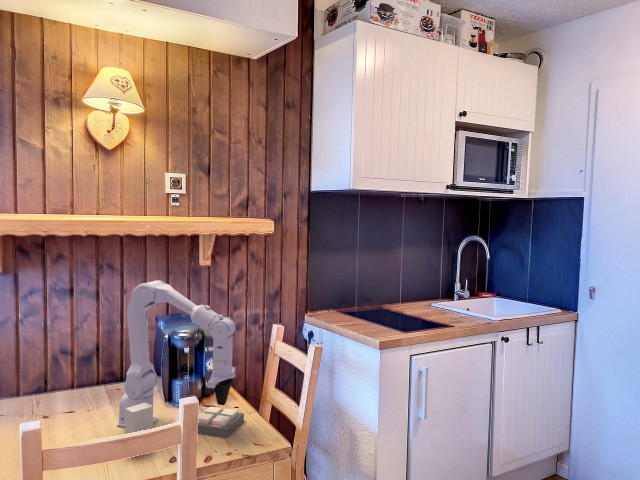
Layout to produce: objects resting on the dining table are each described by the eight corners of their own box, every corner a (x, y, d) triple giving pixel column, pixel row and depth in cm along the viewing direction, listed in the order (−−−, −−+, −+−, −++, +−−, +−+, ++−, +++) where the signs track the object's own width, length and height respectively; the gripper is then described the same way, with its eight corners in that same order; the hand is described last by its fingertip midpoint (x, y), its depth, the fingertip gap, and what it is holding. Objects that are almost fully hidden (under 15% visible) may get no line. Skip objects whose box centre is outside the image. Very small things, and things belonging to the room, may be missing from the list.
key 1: (195, 424, 142) (195, 417, 141) (202, 419, 145) (202, 412, 145) (207, 426, 141) (207, 419, 140) (213, 421, 144) (213, 414, 144)
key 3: (211, 426, 140) (212, 420, 140) (218, 421, 144) (218, 415, 144) (224, 428, 139) (224, 422, 139) (230, 423, 143) (230, 416, 143)
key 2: (204, 417, 147) (204, 411, 147) (210, 412, 151) (210, 406, 151) (215, 419, 146) (216, 412, 146) (221, 414, 150) (221, 408, 150)
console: (188, 431, 140) (188, 422, 140) (208, 415, 152) (208, 407, 152) (226, 437, 137) (226, 428, 137) (243, 420, 149) (243, 412, 149)
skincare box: (144, 444, 132) (145, 401, 132) (152, 449, 129) (153, 405, 129) (123, 451, 127) (124, 407, 127) (132, 457, 125) (132, 412, 124)
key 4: (220, 419, 145) (220, 413, 145) (225, 414, 149) (226, 408, 149) (232, 421, 144) (232, 415, 144) (237, 416, 148) (237, 410, 148)
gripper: (224, 367, 133) (223, 415, 133) (244, 354, 147) (243, 397, 147) (201, 365, 135) (200, 411, 135) (224, 352, 149) (223, 394, 149)
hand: (221, 404), depth 141 cm, fingers closed
